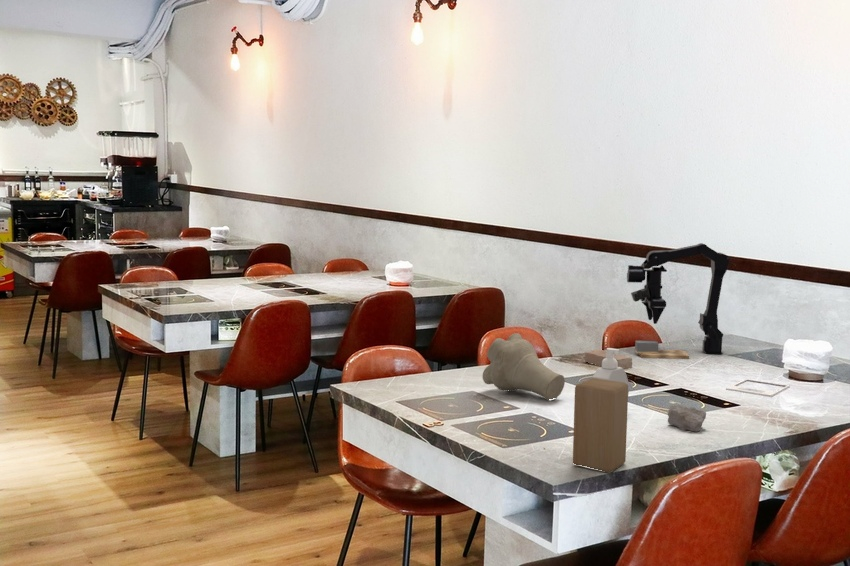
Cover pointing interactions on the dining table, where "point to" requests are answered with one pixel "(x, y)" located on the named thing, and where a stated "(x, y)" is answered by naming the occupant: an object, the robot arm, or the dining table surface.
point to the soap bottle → (611, 369)
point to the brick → (599, 355)
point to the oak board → (666, 354)
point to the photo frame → (755, 391)
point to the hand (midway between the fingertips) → (652, 321)
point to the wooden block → (600, 424)
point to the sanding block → (646, 346)
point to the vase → (520, 368)
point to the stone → (686, 417)
